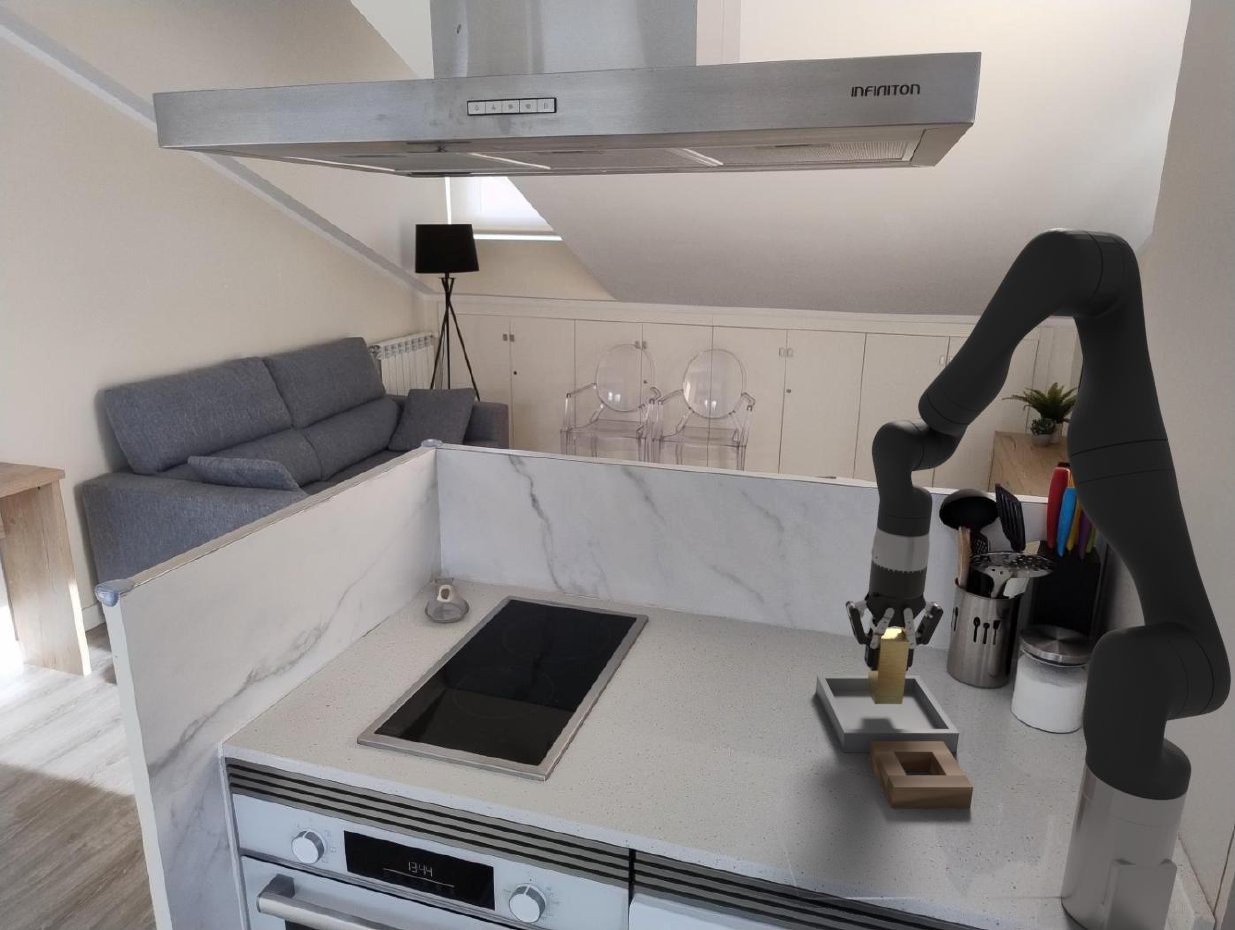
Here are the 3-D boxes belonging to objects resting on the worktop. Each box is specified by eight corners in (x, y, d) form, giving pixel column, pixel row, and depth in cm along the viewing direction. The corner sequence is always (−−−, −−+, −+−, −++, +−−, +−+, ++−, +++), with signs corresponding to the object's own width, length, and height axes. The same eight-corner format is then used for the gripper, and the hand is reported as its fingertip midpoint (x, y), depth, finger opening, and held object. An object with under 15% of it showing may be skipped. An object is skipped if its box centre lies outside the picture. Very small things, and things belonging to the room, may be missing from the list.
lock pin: (902, 704, 127) (909, 641, 124) (874, 704, 127) (881, 641, 124) (893, 689, 131) (900, 628, 128) (866, 689, 131) (873, 628, 128)
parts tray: (956, 752, 122) (959, 733, 122) (842, 752, 122) (844, 733, 121) (916, 692, 138) (918, 675, 137) (815, 692, 137) (817, 675, 137)
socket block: (970, 807, 111) (973, 787, 110) (891, 807, 111) (894, 787, 110) (940, 760, 120) (943, 741, 120) (868, 760, 120) (870, 741, 119)
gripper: (856, 568, 119) (845, 681, 124) (960, 569, 119) (945, 681, 124) (842, 548, 126) (832, 655, 131) (939, 549, 127) (926, 656, 131)
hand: (887, 667), depth 128 cm, fingers closed on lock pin, 4 cm apart
